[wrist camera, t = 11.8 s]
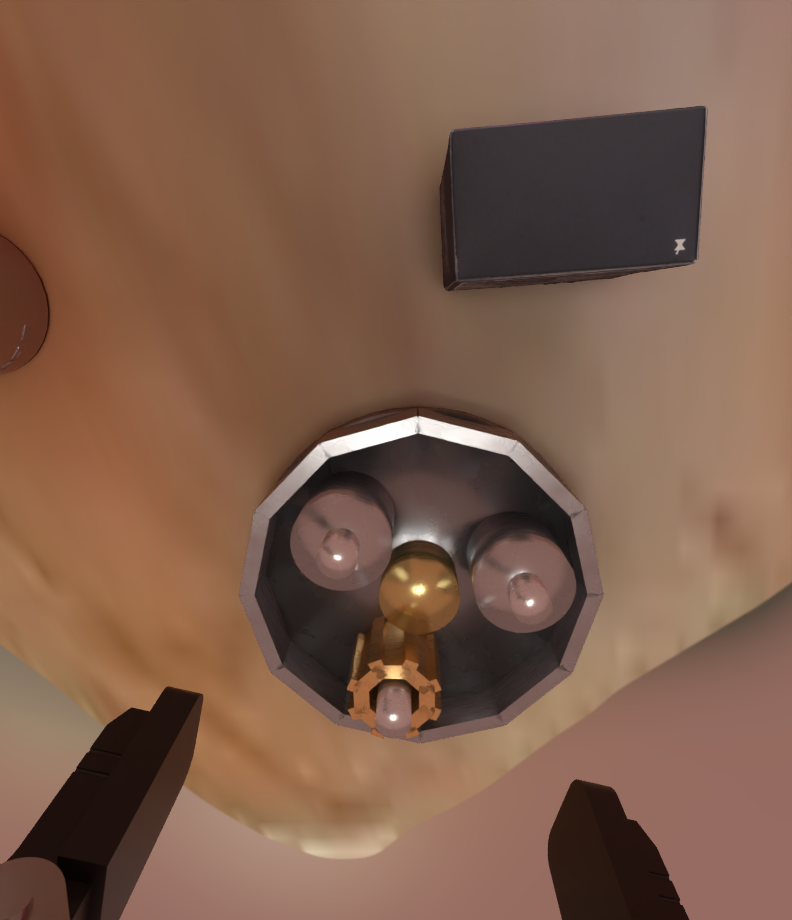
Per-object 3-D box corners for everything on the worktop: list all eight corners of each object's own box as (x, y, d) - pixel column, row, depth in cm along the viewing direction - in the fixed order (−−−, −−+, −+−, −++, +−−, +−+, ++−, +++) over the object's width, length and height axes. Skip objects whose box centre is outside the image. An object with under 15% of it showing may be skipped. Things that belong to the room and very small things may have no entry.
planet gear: (337, 651, 40) (327, 699, 35) (395, 599, 38) (392, 642, 34) (397, 700, 41) (395, 754, 36) (455, 651, 39) (461, 700, 35)
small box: (619, 161, 31) (718, 94, 21) (615, 279, 33) (704, 269, 23) (437, 177, 32) (448, 120, 22) (442, 293, 34) (455, 289, 24)
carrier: (192, 567, 39) (138, 633, 32) (416, 331, 34) (418, 340, 26) (420, 751, 43) (421, 850, 36) (650, 565, 38) (712, 633, 30)
